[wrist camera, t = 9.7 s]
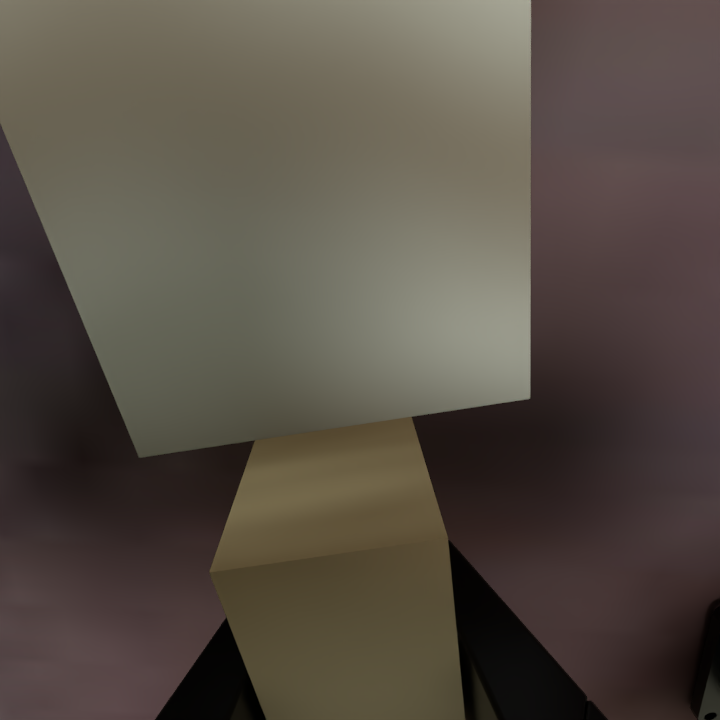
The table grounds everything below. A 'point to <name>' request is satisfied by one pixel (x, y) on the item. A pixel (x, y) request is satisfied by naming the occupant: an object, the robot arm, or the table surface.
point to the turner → (296, 289)
